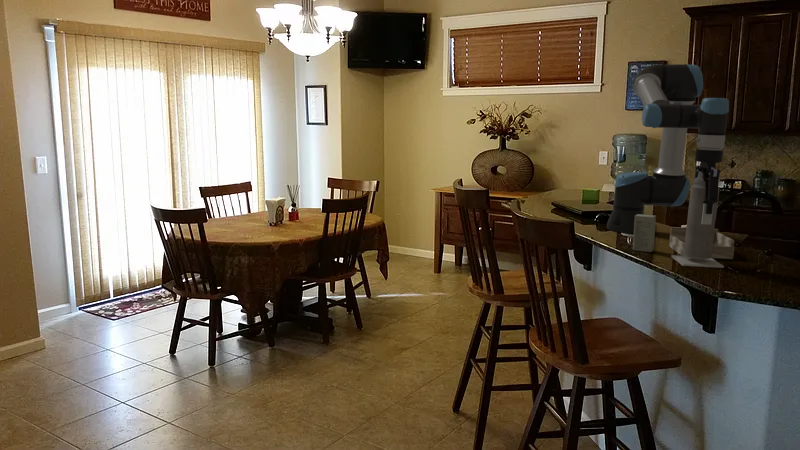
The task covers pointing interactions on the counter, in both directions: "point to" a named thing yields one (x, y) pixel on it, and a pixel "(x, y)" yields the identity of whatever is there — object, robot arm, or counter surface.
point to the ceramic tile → (696, 261)
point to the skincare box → (644, 232)
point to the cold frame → (720, 248)
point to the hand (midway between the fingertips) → (701, 221)
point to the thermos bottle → (699, 223)
